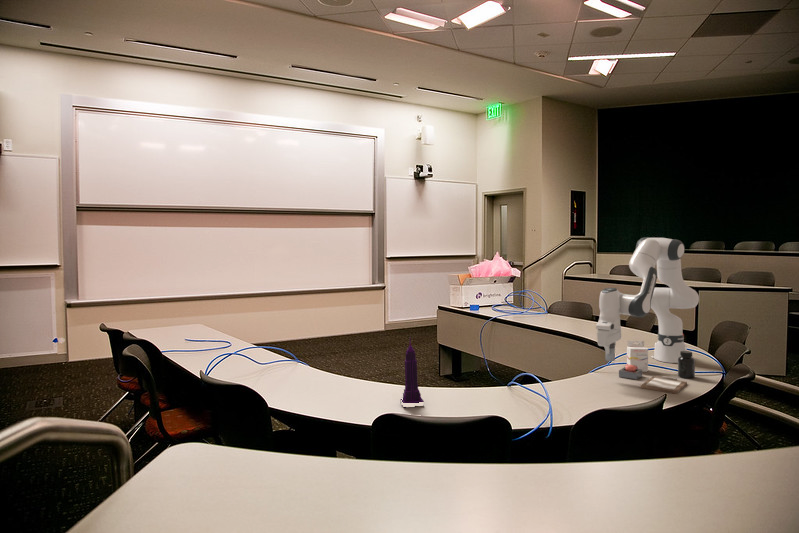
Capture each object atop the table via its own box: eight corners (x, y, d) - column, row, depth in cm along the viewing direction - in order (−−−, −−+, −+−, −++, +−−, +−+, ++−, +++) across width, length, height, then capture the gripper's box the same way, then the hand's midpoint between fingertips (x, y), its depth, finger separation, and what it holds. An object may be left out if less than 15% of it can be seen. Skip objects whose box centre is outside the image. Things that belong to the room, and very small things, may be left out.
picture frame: (653, 378, 222) (653, 374, 222) (687, 384, 212) (687, 379, 212) (640, 387, 209) (640, 383, 209) (676, 394, 199) (676, 389, 199)
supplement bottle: (688, 374, 226) (688, 349, 226) (698, 378, 220) (698, 353, 219) (674, 375, 226) (674, 350, 226) (683, 379, 219) (683, 353, 219)
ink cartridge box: (630, 371, 234) (630, 342, 233) (626, 369, 239) (626, 340, 238) (648, 371, 233) (648, 342, 232) (644, 369, 238) (644, 340, 237)
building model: (403, 408, 192) (400, 335, 191) (400, 403, 199) (398, 332, 197) (424, 406, 194) (421, 334, 192) (420, 401, 200) (418, 331, 199)
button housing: (624, 373, 232) (624, 366, 232) (642, 376, 226) (642, 369, 226) (618, 377, 226) (618, 370, 226) (636, 380, 220) (636, 373, 220)
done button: (627, 370, 229) (627, 364, 229) (637, 371, 226) (637, 365, 226) (624, 372, 226) (624, 366, 226) (633, 373, 223) (633, 367, 223)
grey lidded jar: (607, 358, 224) (607, 341, 223) (616, 359, 221) (616, 342, 220) (603, 360, 221) (603, 343, 220) (613, 361, 218) (612, 344, 217)
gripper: (611, 319, 229) (611, 347, 230) (594, 325, 215) (594, 355, 216) (624, 320, 225) (625, 348, 226) (608, 327, 210) (608, 357, 211)
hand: (610, 352), depth 221 cm, fingers closed on grey lidded jar, 4 cm apart
